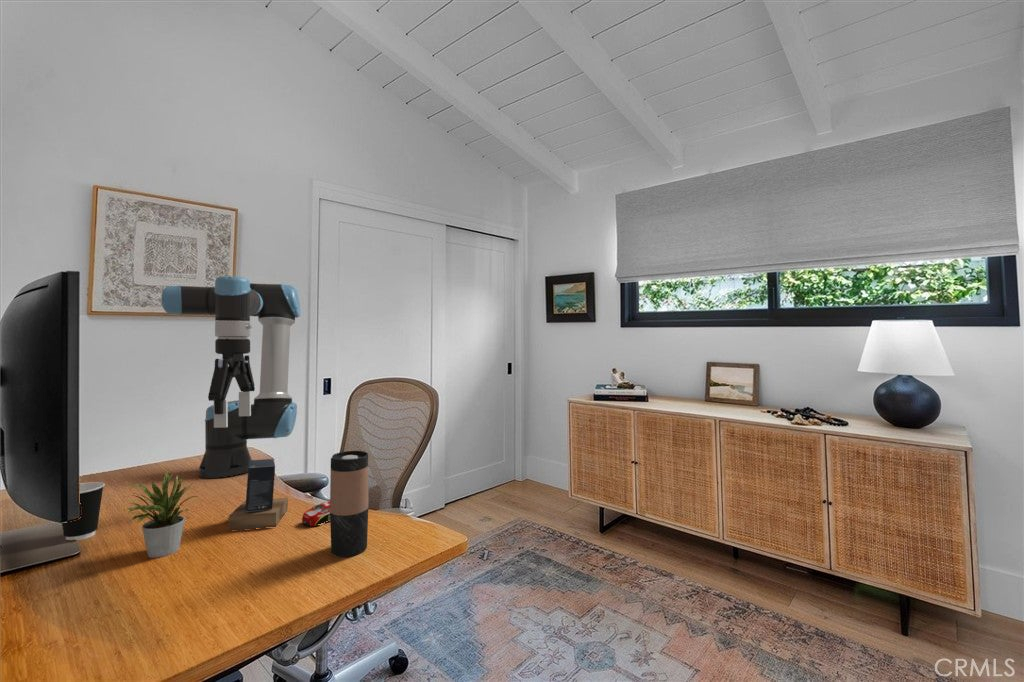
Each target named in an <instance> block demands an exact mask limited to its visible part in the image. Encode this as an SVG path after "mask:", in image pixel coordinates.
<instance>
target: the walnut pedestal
mask: <svg viewBox="0 0 1024 682" xmlns="http://www.w3.org/2000/svg"><path fill="white" fill-rule="evenodd" d="M288 500H289V499H288V497H282V498H281V497H278V498H273V505H272V509H271V510H264V511H255V512H246V500H244V501H243V502H242V503H241V504H240V505H239V506H237V508H235V509H234V511H232V512H231V514H229V515H228V532H233V531H232V530H242V531H246V530H245V529H254V530H257V529H256V528H266V527H276V526H277V525H279V524H280V523H281V521H282V520H283V519H282V517H283V516H284V515H285V513H286V512H287V511H289V510H288V508H289V507H288ZM287 513H288V512H287ZM287 513H286V514H287ZM285 516H286V515H285ZM285 516H284V517H285ZM284 517H283V518H284ZM281 519H282V520H281ZM280 520H281V521H280ZM279 522H280V523H279ZM278 523H279V524H278ZM277 527H278V526H277ZM277 527H276V528H277ZM266 529H267V528H266Z"/></svg>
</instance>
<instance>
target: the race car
mask: <svg viewBox="0 0 1024 682" xmlns="http://www.w3.org/2000/svg"><path fill="white" fill-rule="evenodd" d="M329 520H330V501H324V502H322V503H319V504H316V505H314V506H312V507H311V508H309V509H308V510H306V511H305V512H303V515H302V518H301V523H302V524H304V525H306V526H310V527H315V526H316V525H317V526H319V525H318V524H321V523H324V522H326V521H329ZM326 523H327V522H326Z"/></svg>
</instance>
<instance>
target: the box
mask: <svg viewBox="0 0 1024 682" xmlns="http://www.w3.org/2000/svg"><path fill="white" fill-rule="evenodd" d="M275 472H276V465H275V461H274V458H266V459H252V460H249V466H248V472H247V481H246V494H245V495H246V498H245V501H246V512H255V511H264V510H271V509H272V505H273V499H274V489H275V475H276V473H275Z"/></svg>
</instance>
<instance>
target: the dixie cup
mask: <svg viewBox="0 0 1024 682" xmlns="http://www.w3.org/2000/svg"><path fill="white" fill-rule="evenodd" d="M79 484H80V492H79V493H80V503H81V506H82V515H81V518H80V519H79V520H76V521H72V522H67V523H62V522H61V526H62V533H63V536H64V538H65V537H74V538H75V539H76V540H77V541H82V540H85V539H89V538H91V537H93V536H94V535H96V532H97V530H98V525H99V518H100V511H101V503H102V498H103V489H104V487H105V485H106V483H104V482H101V481H90V482H81V483H79Z"/></svg>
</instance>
